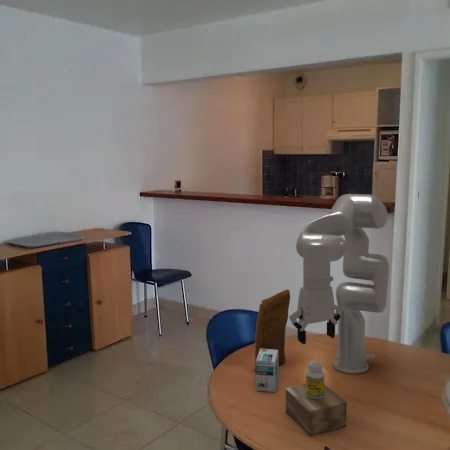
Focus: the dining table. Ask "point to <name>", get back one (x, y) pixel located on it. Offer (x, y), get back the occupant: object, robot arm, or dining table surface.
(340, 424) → the wooden box
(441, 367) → the dining table surface
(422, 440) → the dining table surface
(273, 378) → the light bulb box
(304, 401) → the lid
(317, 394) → the supplement bottle
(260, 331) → the pancake mix bag
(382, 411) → the dining table surface
